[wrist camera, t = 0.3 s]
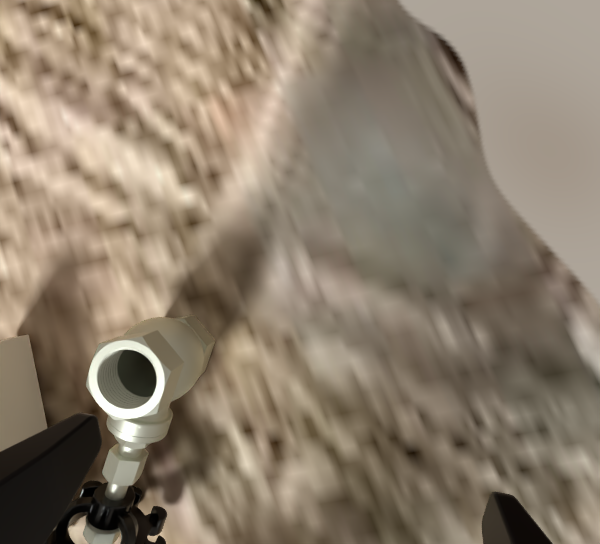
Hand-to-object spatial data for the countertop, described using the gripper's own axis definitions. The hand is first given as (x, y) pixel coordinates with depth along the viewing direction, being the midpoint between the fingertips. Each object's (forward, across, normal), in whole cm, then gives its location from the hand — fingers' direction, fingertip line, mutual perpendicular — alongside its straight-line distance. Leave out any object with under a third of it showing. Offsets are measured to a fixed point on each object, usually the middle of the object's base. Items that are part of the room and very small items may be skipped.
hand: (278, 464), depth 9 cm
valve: (+11, +9, +10) cm, 17 cm away
